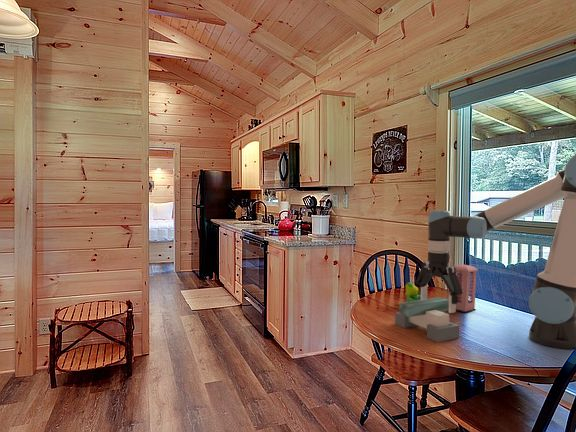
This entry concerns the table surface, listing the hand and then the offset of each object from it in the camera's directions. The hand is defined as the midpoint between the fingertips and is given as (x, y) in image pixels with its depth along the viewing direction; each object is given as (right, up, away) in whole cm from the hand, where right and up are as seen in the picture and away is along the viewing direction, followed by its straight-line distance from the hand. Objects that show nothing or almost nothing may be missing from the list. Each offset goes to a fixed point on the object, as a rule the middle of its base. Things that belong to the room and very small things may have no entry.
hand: (437, 307), depth 149 cm
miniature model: (+21, -7, +26) cm, 34 cm away
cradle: (-5, -8, -2) cm, 10 cm away
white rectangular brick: (-5, -6, -2) cm, 8 cm away
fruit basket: (+1, -7, +30) cm, 31 cm away
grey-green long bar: (-6, -1, -3) cm, 6 cm away
